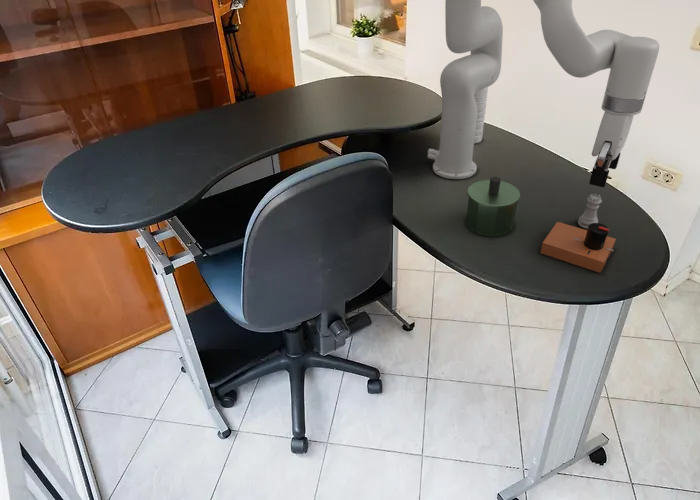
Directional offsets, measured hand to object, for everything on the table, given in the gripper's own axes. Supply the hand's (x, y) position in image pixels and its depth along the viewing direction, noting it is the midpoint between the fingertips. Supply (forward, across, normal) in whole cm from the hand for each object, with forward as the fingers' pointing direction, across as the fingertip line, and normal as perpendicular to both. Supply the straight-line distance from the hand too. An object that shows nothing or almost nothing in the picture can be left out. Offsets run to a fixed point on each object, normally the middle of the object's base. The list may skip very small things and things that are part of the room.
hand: (602, 176), depth 114 cm
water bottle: (+13, -31, -45) cm, 56 cm away
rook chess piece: (+14, 0, -1) cm, 14 cm away
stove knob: (+11, +12, +3) cm, 16 cm away
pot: (+13, +12, -21) cm, 27 cm away
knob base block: (+14, +12, 0) cm, 18 cm away
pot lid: (+5, +12, -20) cm, 24 cm away
